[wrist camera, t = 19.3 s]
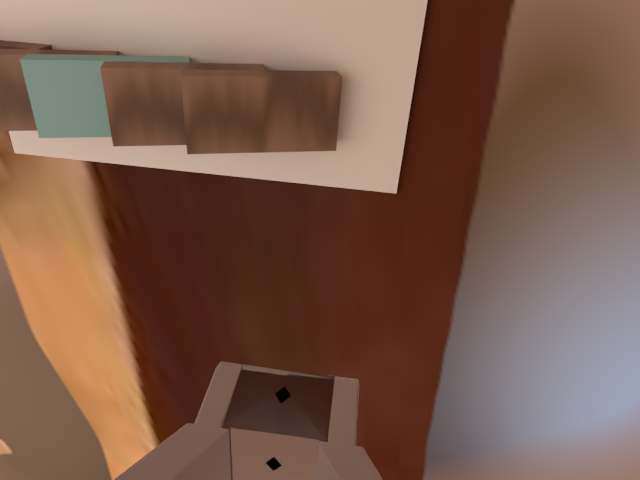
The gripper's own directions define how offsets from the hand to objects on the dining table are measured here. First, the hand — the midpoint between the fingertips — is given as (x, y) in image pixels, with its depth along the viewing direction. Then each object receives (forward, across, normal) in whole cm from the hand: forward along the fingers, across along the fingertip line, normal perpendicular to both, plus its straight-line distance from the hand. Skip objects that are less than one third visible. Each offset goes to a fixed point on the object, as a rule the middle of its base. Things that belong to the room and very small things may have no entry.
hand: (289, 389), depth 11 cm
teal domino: (+26, +11, +2) cm, 28 cm away
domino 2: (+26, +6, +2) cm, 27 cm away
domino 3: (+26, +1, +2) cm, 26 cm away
